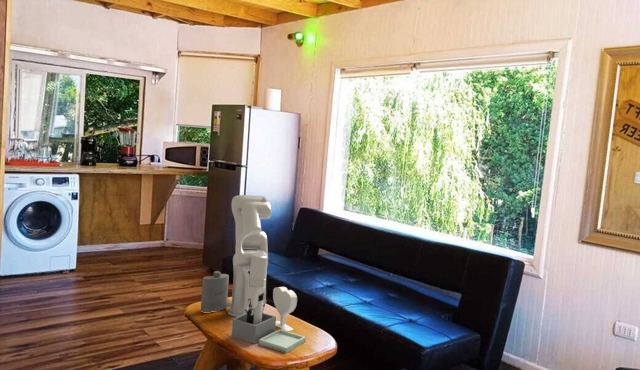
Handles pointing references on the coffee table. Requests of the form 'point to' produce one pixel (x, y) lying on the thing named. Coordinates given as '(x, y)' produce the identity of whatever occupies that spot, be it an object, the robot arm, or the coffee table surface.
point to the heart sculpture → (284, 305)
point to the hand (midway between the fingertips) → (254, 320)
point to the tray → (282, 340)
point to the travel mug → (258, 310)
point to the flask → (214, 292)
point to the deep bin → (253, 328)
